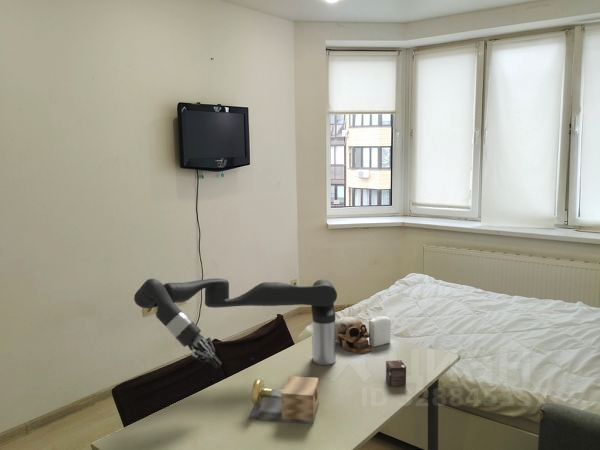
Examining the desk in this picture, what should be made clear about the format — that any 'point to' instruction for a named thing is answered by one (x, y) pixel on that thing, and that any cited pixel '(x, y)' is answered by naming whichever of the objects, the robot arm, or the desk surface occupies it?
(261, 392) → the shaft
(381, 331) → the photo printer
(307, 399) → the bearing block
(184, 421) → the desk surface
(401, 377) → the box
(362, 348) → the skull
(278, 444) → the desk surface
